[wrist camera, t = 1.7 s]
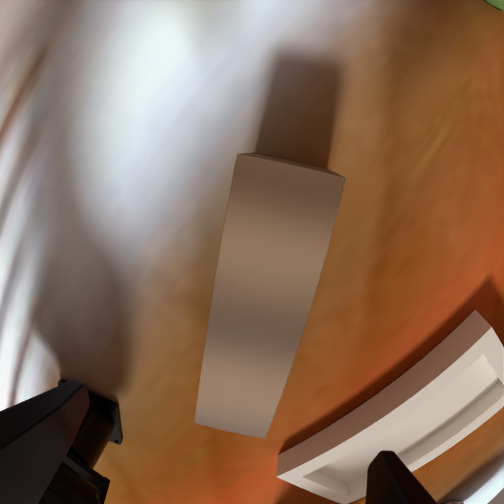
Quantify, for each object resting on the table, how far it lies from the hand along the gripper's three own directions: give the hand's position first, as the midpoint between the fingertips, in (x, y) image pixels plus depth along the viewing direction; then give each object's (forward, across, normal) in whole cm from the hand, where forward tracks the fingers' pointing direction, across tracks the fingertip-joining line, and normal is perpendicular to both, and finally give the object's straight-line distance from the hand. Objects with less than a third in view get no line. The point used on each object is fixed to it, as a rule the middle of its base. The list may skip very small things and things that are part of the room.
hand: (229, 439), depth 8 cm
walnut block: (+12, 0, 0) cm, 12 cm away
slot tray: (+12, -14, +10) cm, 21 cm away
